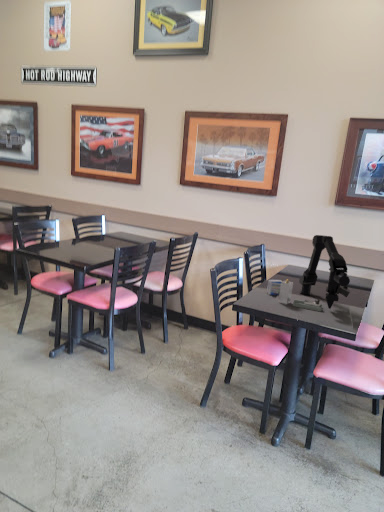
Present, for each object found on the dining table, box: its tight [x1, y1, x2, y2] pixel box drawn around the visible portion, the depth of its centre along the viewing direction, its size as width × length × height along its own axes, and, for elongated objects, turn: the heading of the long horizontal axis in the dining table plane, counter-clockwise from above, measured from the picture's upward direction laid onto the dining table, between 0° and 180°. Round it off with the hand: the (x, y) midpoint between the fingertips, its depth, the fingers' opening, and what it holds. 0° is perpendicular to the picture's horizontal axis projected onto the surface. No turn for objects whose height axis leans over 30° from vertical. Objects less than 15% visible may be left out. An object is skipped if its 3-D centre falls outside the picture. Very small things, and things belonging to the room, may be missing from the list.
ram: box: [304, 298, 321, 307], centre depth 205 cm, size 4×8×5 cm, turn 70°
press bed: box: [292, 299, 323, 312], centre depth 212 cm, size 17×25×3 cm
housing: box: [277, 278, 294, 305], centre depth 208 cm, size 5×5×14 cm
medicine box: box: [266, 279, 282, 296], centre depth 227 cm, size 8×4×9 cm, turn 105°
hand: (329, 308), depth 202 cm, fingers closed
